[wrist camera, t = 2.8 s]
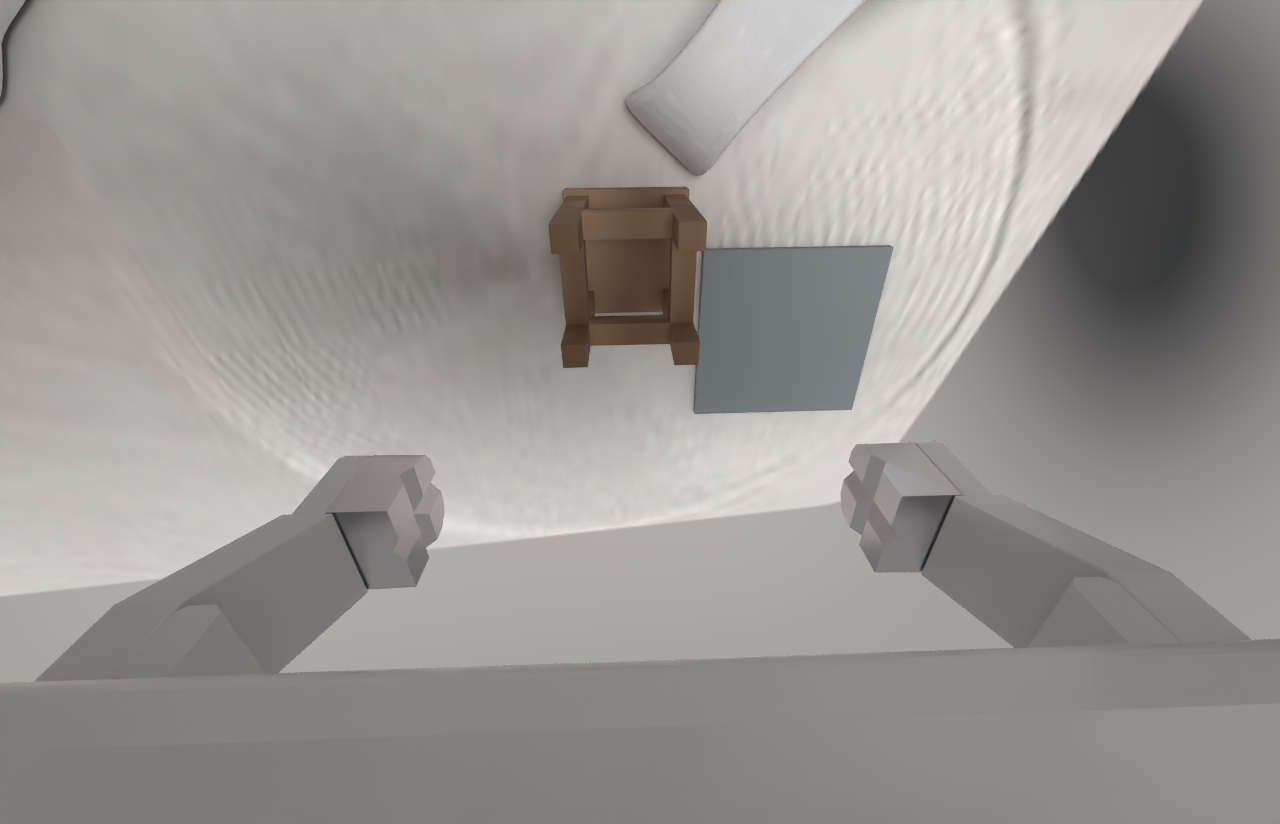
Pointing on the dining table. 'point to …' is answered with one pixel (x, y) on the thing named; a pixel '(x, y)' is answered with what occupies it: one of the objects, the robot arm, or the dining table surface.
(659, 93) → the spoon rest
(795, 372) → the felt mat
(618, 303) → the stool
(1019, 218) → the dining table surface
